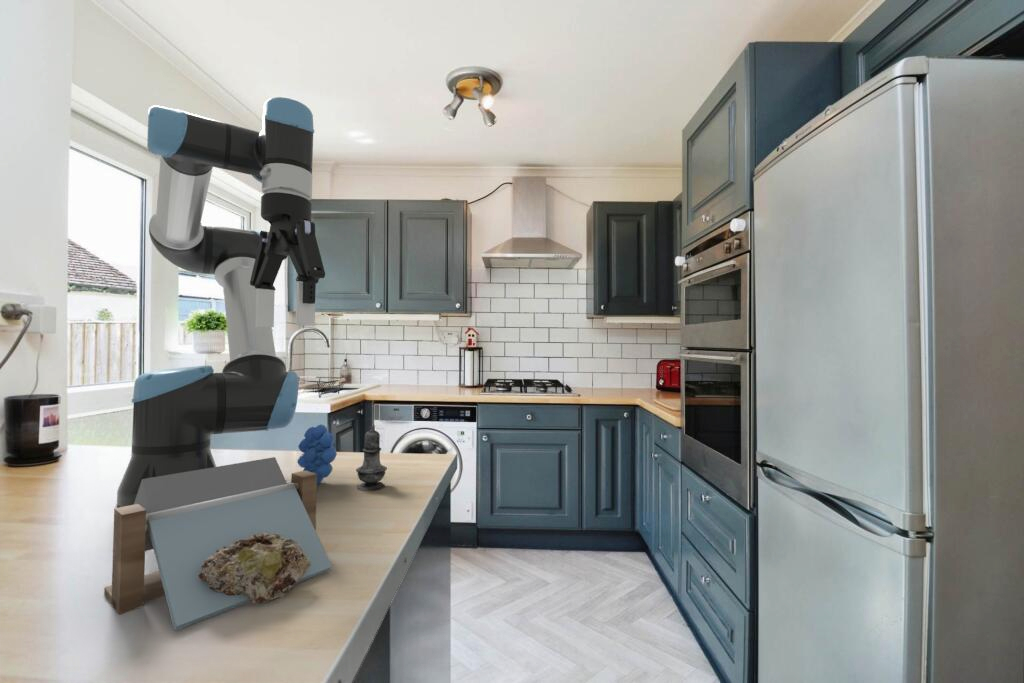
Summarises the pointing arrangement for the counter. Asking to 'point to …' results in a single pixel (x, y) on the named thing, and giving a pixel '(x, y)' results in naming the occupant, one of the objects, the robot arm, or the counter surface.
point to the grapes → (317, 452)
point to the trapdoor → (219, 528)
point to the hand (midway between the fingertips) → (283, 326)
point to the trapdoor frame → (130, 549)
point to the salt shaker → (371, 463)
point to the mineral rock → (256, 567)
